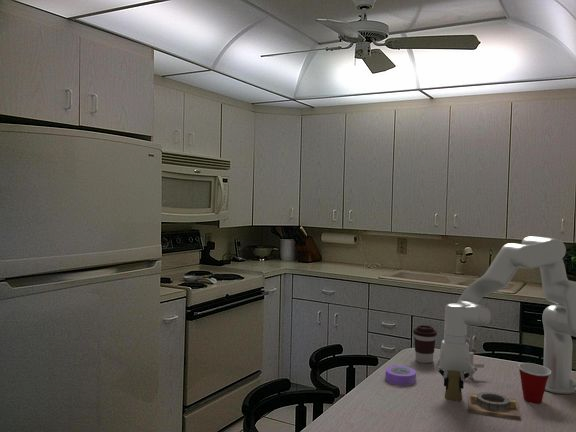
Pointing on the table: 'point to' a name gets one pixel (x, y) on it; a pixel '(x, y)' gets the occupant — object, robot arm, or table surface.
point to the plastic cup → (533, 381)
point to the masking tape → (400, 375)
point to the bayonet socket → (493, 405)
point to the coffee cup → (424, 343)
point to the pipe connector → (474, 364)
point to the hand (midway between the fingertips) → (453, 388)
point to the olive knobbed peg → (453, 386)
